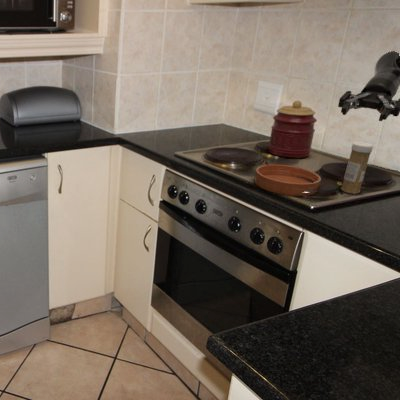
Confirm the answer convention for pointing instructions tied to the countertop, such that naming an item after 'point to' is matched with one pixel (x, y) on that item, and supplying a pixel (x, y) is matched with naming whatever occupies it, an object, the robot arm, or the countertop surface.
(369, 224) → the countertop surface
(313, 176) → the terracotta round dish
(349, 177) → the sprinkles bottle
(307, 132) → the kitchen canister
